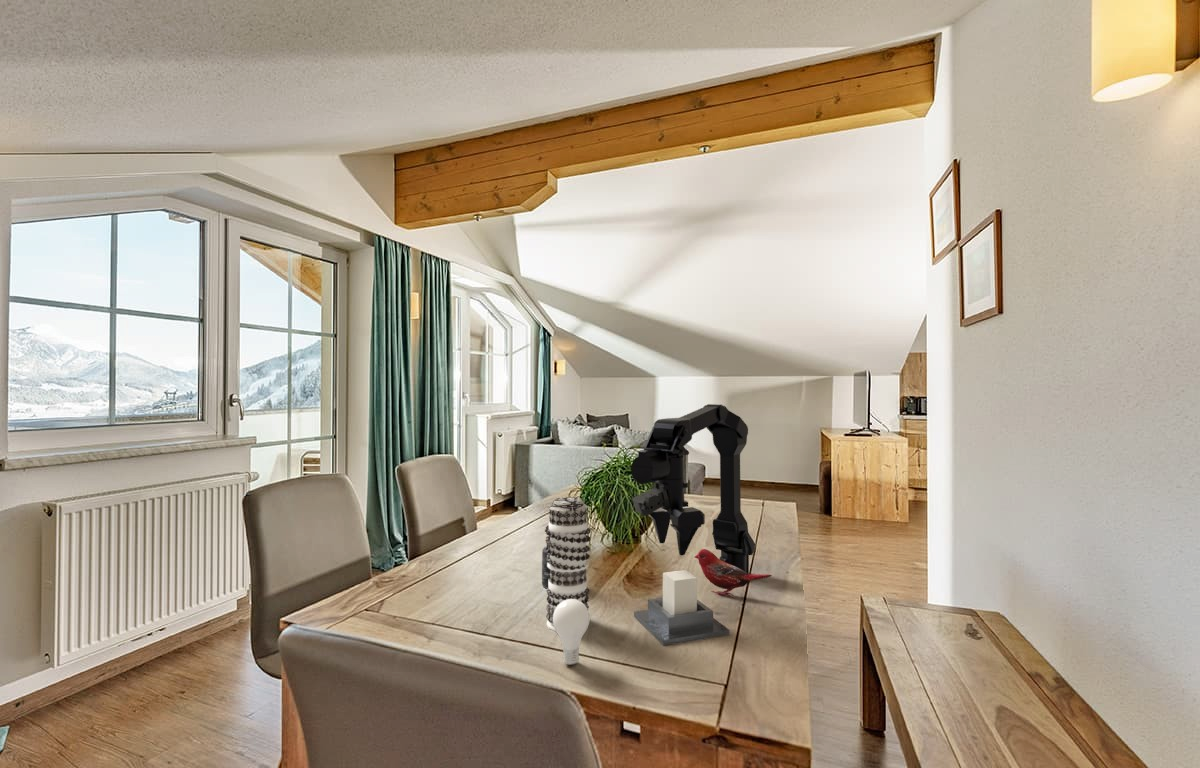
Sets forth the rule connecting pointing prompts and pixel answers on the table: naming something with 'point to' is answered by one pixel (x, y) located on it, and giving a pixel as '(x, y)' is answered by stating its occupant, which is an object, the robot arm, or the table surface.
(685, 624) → the square socket
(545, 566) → the pill bottle
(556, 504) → the decorative candle
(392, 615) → the table surface
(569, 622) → the lightbulb
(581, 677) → the table surface
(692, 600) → the square peg
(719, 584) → the decorative bird figurine
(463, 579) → the table surface
